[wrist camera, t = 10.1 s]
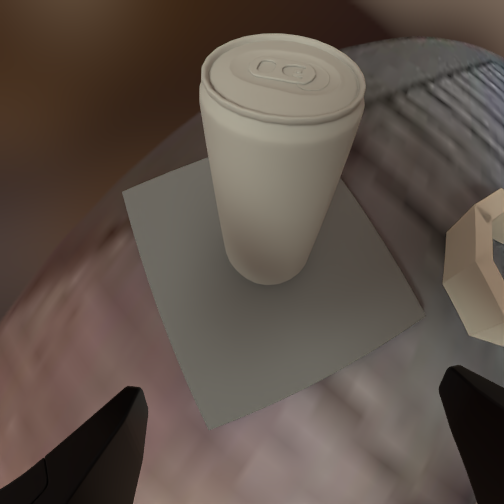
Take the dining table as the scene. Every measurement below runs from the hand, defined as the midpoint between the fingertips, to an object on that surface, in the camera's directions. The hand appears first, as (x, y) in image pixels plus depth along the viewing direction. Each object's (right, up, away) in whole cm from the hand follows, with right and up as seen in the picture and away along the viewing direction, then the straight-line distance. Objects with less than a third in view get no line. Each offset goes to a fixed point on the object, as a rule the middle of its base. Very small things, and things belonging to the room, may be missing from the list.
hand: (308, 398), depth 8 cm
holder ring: (+17, +2, +11) cm, 20 cm away
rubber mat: (-1, +4, +11) cm, 12 cm away
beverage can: (-1, +4, +11) cm, 12 cm away
